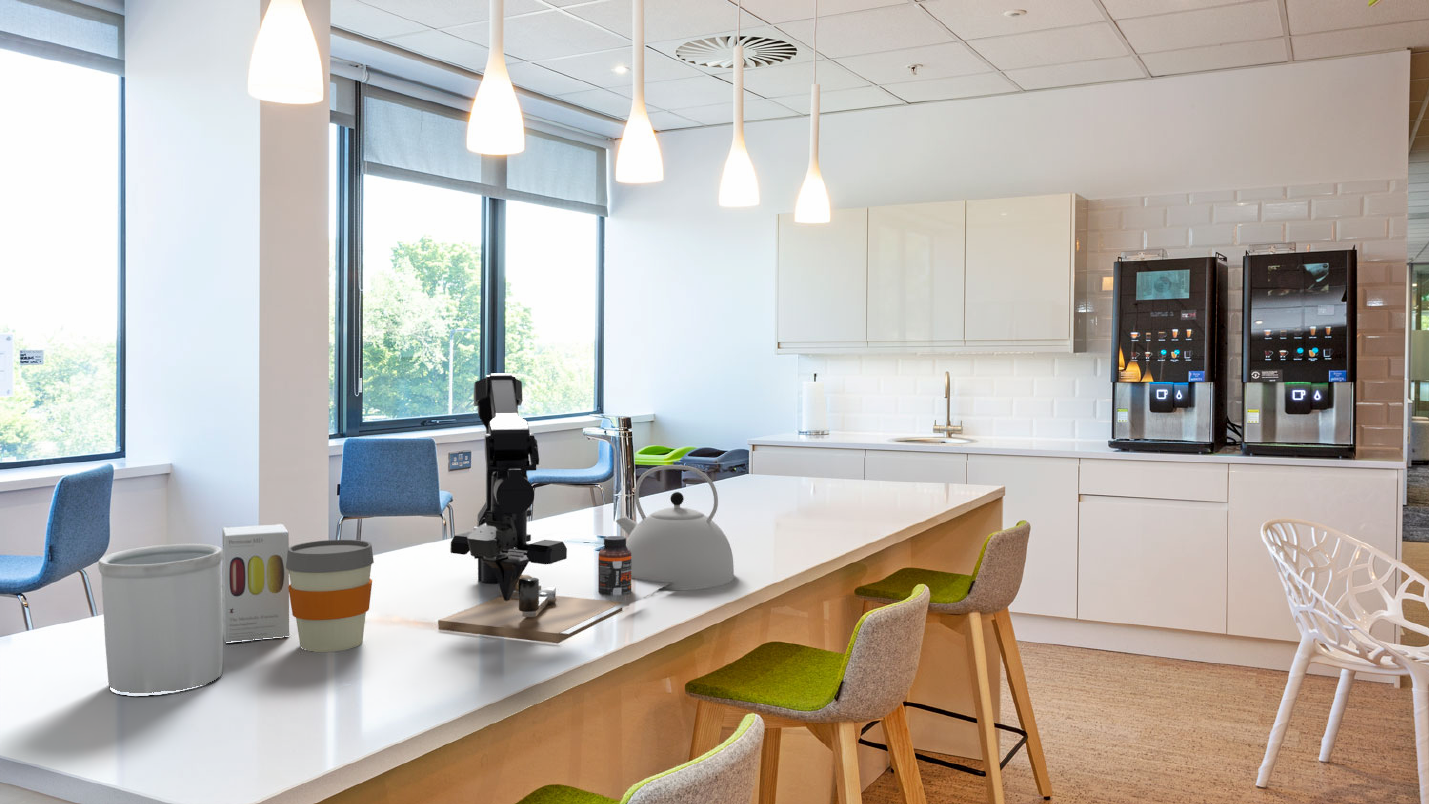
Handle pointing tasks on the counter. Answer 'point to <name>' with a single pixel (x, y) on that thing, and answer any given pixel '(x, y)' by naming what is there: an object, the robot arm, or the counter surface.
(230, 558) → the supplement box
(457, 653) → the counter surface
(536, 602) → the lever
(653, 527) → the kettle
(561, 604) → the base
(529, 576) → the nut
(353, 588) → the reusable coffee cup
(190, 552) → the utensil holder
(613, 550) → the supplement bottle
